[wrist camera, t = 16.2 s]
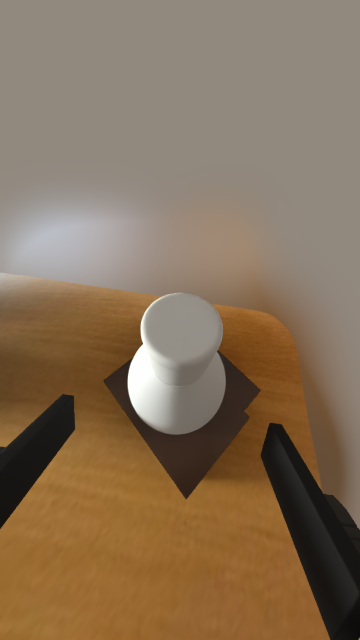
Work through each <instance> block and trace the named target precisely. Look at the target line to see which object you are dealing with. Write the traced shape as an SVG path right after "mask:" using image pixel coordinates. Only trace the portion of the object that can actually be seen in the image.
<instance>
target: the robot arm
mask: <svg viewBox="0 0 360 640" xmlns="http://www.w3.org/2000/svg"><path fill="white" fill-rule="evenodd" d="M74 430H75V414H74V396H72V395H65V394H62V395H61V396H60V397H59V398H58V399H57V400H56V401H55V402H54V403H53V404H52V405H51V406H50V407H49V408H47V409H46V410H45V411H44V412H43V413H42V414H41V415H40V416H39V417H38V418H37V419H36V420H35V421H34V422H33V423H31V424H30V425H29V426H28V427H27V428H26V429H25V430H24V431H23V432H22V433H21V434H20V435H19V436H18V437H17V438H15V439H14V440H13V441H12V442H11V443H10V444H9V445H8V446H7V447H0V529H1V527H2V526H3V525H4V523H5V522H6V521H7V519H8V518H9V517H10V515H11V514H12V513H13V511H14V510H15V509H16V507H17V506H18V505H19V503H20V502H21V501H22V499H23V498H24V497H25V495H26V494H27V493H28V491H29V490H30V489H31V487H32V486H33V485H34V483H35V482H36V481H37V479H38V478H39V477H40V475H41V474H42V473H43V471H44V470H45V469H46V467H47V466H48V465H49V463H50V462H51V461H52V459H53V458H54V457H55V455H56V454H57V452H58V451H59V450H60V448H61V447H62V446H63V444H64V443H65V442H66V440H67V439H68V438H69V436H70V435H71V434H72V432H73V431H74ZM261 458H262V461H263V464H264V466H265V469H266V472H267V474H268V477H269V479H270V482H271V485H272V487H273V490H274V493H275V495H276V498H277V500H278V503H279V506H280V508H281V511H282V514H283V516H284V519H285V521H286V524H287V527H288V529H289V532H290V535H291V537H292V540H293V543H294V545H295V548H296V550H297V553H298V556H299V558H300V561H301V564H302V566H303V569H304V571H305V574H306V577H307V579H308V582H309V585H310V587H311V590H312V592H313V595H314V598H315V600H316V603H317V606H318V608H319V611H320V613H321V616H322V619H323V621H324V624H325V627H326V629H327V632H328V634H329V637H330V640H358V639H359V638H360V530H359V528H357V525H356V524H355V522H354V520H353V519H352V518H351V516H350V515H349V513H348V512H347V510H346V509H345V508H344V507H343V505H342V504H341V503H340V502H339V501H338V500H337V499H336V498H335V497H334V496H333V495H327V494H323V493H322V491H321V489H320V488H319V486H318V484H317V483H316V481H315V479H314V478H313V476H312V474H311V473H310V471H309V469H308V468H307V466H306V464H305V463H304V461H303V459H302V458H301V456H300V454H299V453H298V451H297V449H296V448H295V446H294V444H293V443H292V441H291V439H290V438H289V436H288V434H287V433H286V431H285V429H284V428H283V426H282V424H275V423H270V424H269V427H268V431H267V434H266V438H265V441H264V445H263V448H262V452H261Z"/></svg>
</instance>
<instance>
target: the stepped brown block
mask: <svg viewBox="0 0 360 640" xmlns="http://www.w3.org/2000/svg"><path fill="white" fill-rule="evenodd" d="M217 353H218V354H219V356H220V358H221V360H222V363H223V366H224V370H225V378H226V386H225V393H224V397H223V400H222V403H221V405H220V407H219V409H218V411H217V412H216V414H215V415H214V416H213V418H212V419H211V420H210V421H209V422H208V423H207V424H206V425H204V426H203V427H202V428H200V429H198V430H196V431H194V432H192V433H188V434H184V435H169V434H166V433H163V432H160V431H157V430H155V429H153V428H152V427H150V426H149V425H148V424H146V423H145V422H144V421H143V420H141V419H140V417H139V416H138V414H137V413H136V411H135V409H134V407H133V405H132V403H131V400H130V396H129V391H128V374H129V369H130V365H131V362H132V360H133V358H134V357H133V358H132V359H131V360H129V361H128V362H127V363H125V364H124V365H123V366H122V367H120V368H119V369H118V370H116V371H115V372H114V373H113V374H111V375H110V376H109V377H108V378H106V379H105V380H104V383H105V384H106V385H107V387H108V388H109V390H110V391H111V393H112V394H113V395H114V397H115V398H116V400H117V401H118V403H119V404H120V406H121V407H122V408H123V410H124V411H125V413H126V414H127V416H128V417H129V418H130V420H131V421H132V423H133V424H134V426H135V427H136V428H137V430H138V431H139V433H140V434H141V436H142V437H143V438H144V440H145V441H146V443H147V444H148V446H149V447H150V448H151V450H152V451H153V453H154V454H155V456H156V457H157V458H158V460H159V461H160V463H161V464H162V466H163V467H164V468H165V470H166V471H167V473H168V474H169V476H170V477H171V479H172V480H173V481H174V483H175V484H176V486H177V487H178V489H179V490H180V491H181V493H182V494H183V496H184V497H185V499H187V498H188V497H189V495H190V494H191V493H192V492H193V490H194V489H195V488H196V486H197V485H198V484H199V482H200V481H201V480H202V479H203V477H204V476H205V475H206V473H207V472H208V471H209V470H210V468H211V467H212V466H213V464H214V463H215V462H216V461H217V459H218V458H219V457H220V455H221V454H222V453H223V452H224V450H225V449H226V448H227V446H228V445H229V444H230V443H231V441H232V440H233V439H234V437H235V436H236V435H237V433H238V432H239V431H240V430H241V428H242V427H243V426H244V424H245V423H246V422H247V421H248V419H249V418H250V417H249V416H248V415H247V414H246V413H245V412H244V411H245V409H246V408H247V407H248V406H249V404H250V403H251V402H252V401H253V399H254V398H255V397H256V396H257V395H258V393H259V392H260V391H261V390H260V389H259V388H258V387H257V386H256V385H255V384H253V383H252V382H251V381H250V380H249V379H248V378H247V377H246V376H245V375H244V374H243V373H242V372H241V371H240V370H239V369H237V368H236V367H235V366H234V365H233V364H232V363H231V362H230V361H229V360H228V359H227V358H226V357H225V356H224V355H223V354H221V353H220V352H219V351H218V350H217Z"/></svg>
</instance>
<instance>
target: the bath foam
mask: <svg viewBox="0 0 360 640" xmlns="http://www.w3.org/2000/svg"><path fill="white" fill-rule="evenodd" d="M141 337H142V341H143V345H142V346H141V347H140V348H139V350H138V351H137V353H136V354H135V356H134V358H133V360H132V362H131V365H130V369H129V374H128V391H129V396H130V400H131V403H132V405H133V407H134V409H135V411H136V413H137V414H138V416H139V417H140V419H141V420H143V421H144V422H145V423H146V424H148V425H149V426H150V427H152V428H153V429H155V430H157V431H160V432H163V433H166V434H169V435H184V434H188V433H192V432H194V431H196V430H198V429H200V428H202V427H203V426H204V425H206V424H207V423H208V422H209V421H210V420H211V419H212V418H213V416H214V415H215V414H216V412H217V411H218V409H219V407H220V405H221V403H222V400H223V397H224V393H225V386H226V378H225V370H224V366H223V363H222V360H221V358H220V356H219V354H218V353H217V350H218V349H219V346H220V344H221V341H222V337H223V324H222V320H221V317H220V315H219V313H218V311H217V310H216V309H215V307H214V306H213V305H212V304H211V303H209V302H208V301H207V300H205V299H203V298H202V297H199V296H197V295H194V294H190V293H172V294H168V295H165V296H163V297H161V298H159V299H157V300H156V301H154V302H153V303H152V304H151V305H150V306H149V307H148V309H147V310H146V312H145V314H144V316H143V318H142V322H141Z"/></svg>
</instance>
